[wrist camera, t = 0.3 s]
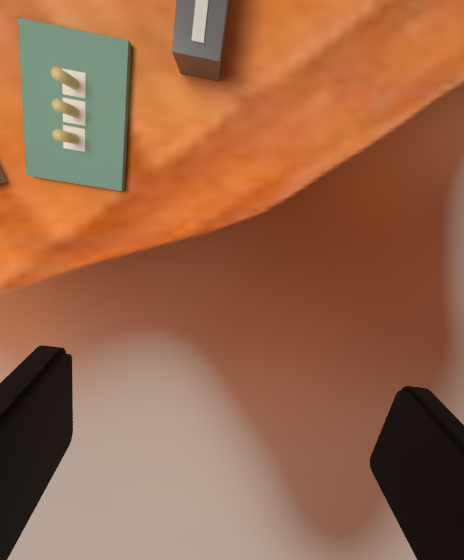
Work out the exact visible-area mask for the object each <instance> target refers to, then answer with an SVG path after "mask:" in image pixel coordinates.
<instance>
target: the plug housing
mask: <svg viewBox="0 0 464 560" xmlns="http://www.w3.org/2000/svg"><path fill="white" fill-rule="evenodd" d="M229 3H230V0H177V3H176V15H175V27H174V38H173V50H172V52H173V55H174V57H175V60H176V62H177V65H178V68H179V70H180V73H182V74H187V75H192V76H196V77H201V78H206V79H211V80H216V81H219V80H220V72H221V64H222V57H223V49H224V41H225V34H226V26H227V19H228V11H229Z"/></svg>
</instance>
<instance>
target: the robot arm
mask: <svg viewBox="0 0 464 560" xmlns="http://www.w3.org/2000/svg"><path fill="white" fill-rule="evenodd" d="M72 411H73V410H72V357H71V355H70V354H66V351H65V349H64V348H59V347H51V346H39V347H37V348H36V349H35V350H34V351H33V352H32V353H31V354H30V355H29V356H28V357H27V358H26V359H25V360H24V361H23V362H22V363H21V364H20V365H19V366H18V367H17V368H16V369H15V370H14V371H12V372H11V373H10V375H9V376H7V377H6V378H5V379H4V380H3V381H2V382H1V383H0V560H7V559H8V557H9V555H10V553H11V551H12V550H13V548H14V546H15V544H16V542H17V540H18V538H19V537H20V535H21V533H22V531H23V529H24V527H25V526H26V524H27V522H28V520H29V518H30V516H31V514H32V513H33V511H34V509H35V507H36V505H37V503H38V502H39V500H40V498H41V496H42V494H43V493H44V491H45V489H46V487H47V485H48V483H49V482H50V479H51V478H52V476H53V474H54V472H55V471H56V469H57V467H58V465H59V463H60V461H61V459H62V457H63V456H64V454H65V452H66V450H67V448H68V446H69V444H70V442H71V438H72V433H73V420H72V419H73V417H72V416H73V413H72ZM370 467H371V470H372V472H373V475H374V476H375V478H376V480H377V482H378V484H379V486H380V488H381V490H382V492H383V494H384V496H385V498H386V499H387V502H388V504H389V506H390V508H391V509H392V511H393V513H394V515H395V517H396V519H397V521H398V523H399V525H400V527H401V529H402V531H403V533H404V535H405V537H406V538H407V540H408V542H409V544H410V546H411V548H412V550H413V552H414V554H415V556H416V558H417V560H464V425H463V424H462V423H461V422H460V421H459V420H458V419H457V418H456V417H455V416H454V415H453V414H452V413H451V412H450V411H449V410H448V409H447V408H446V407H445V406H444V405H443V404H442V403H441V402H440V401H439V399H437V398H436V396H435V395H434V394H433V393H432V392H431V391H430V390H428V389H426V388H420V387H410V386H406V387H404V388H403V389H402V390H401V391H399V392H397V394H396V396H395V398H394V401H393V403H392V406H391V408H390V411H389V413H388V416H387V418H386V420H385V423H384V425H383V428H382V430H381V433H380V435H379V438H378V440H377V442H376V445H375V447H374V450H373V452H372V455H371V458H370Z"/></svg>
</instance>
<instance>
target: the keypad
mask: <svg viewBox="0 0 464 560" xmlns="http://www.w3.org/2000/svg"><path fill="white" fill-rule="evenodd" d="M5 182H7V180H6V177H5V175H4V173H3V171H2V169H1V166H0V184H1V183H5Z"/></svg>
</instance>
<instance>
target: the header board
mask: <svg viewBox="0 0 464 560" xmlns="http://www.w3.org/2000/svg"><path fill="white" fill-rule="evenodd" d="M18 25H19V44H20V63H21V82H22V101H23V120H24V139H25V158H26V176H32V177H38V178H44V179H50V180H56V181H63V182H69V183H75V184H81V185H87V186H93V187H99V188H105V189H111V190H117V191H125V174H126V154H127V133H128V112H129V92H130V71H131V50H132V45H131V44H130V42H129V41H128V40H123V39H118V38H113V37H109V36H104V35H99V34H94V33H90V32H85V31H80V30H75V29H71V28H66V27H61V26H56V25H52V24H47V23H42V22H37V21H33V20H28V19H23V18H18Z"/></svg>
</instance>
